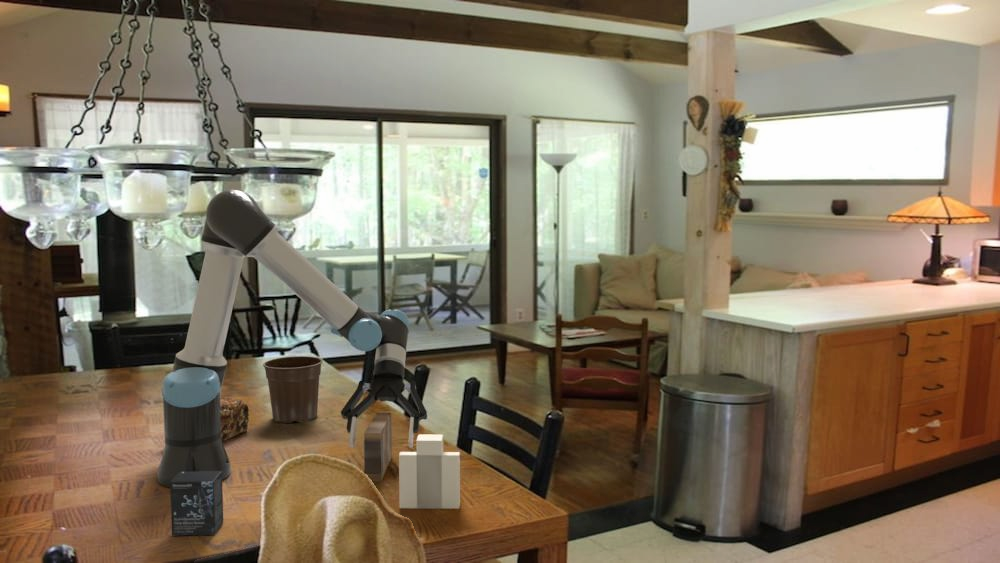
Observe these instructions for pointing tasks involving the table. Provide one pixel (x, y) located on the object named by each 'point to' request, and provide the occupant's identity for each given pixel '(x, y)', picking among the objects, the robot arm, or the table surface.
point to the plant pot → (293, 387)
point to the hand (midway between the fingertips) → (380, 445)
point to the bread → (233, 417)
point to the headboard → (429, 475)
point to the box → (196, 503)
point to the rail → (378, 446)
